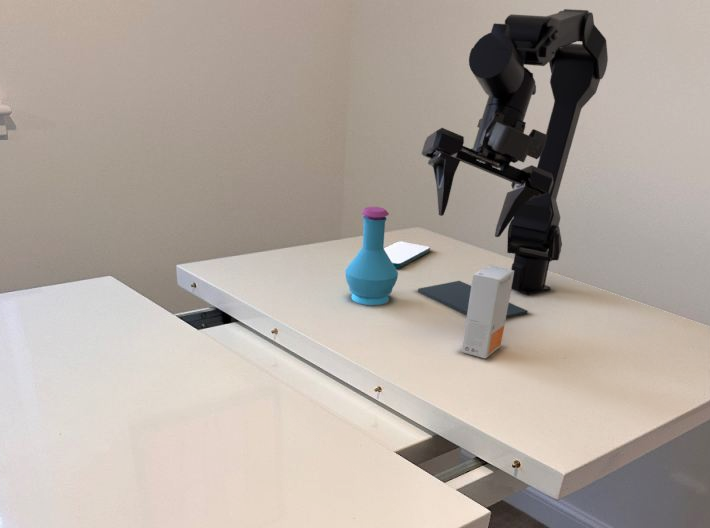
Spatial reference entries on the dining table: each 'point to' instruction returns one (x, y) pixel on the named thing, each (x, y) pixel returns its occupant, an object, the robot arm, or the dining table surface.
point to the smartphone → (405, 252)
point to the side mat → (461, 297)
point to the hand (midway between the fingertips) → (469, 226)
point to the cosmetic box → (487, 311)
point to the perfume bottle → (372, 263)
